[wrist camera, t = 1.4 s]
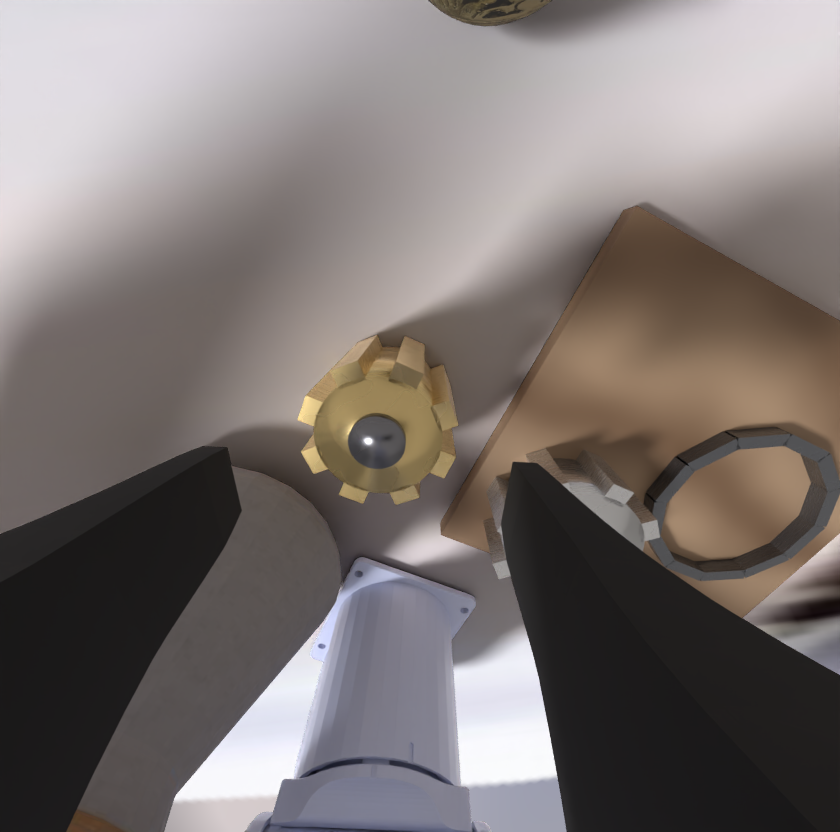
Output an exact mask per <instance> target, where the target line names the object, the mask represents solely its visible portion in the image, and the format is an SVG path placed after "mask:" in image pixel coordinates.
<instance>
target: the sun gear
mask: <svg viewBox="0 0 840 832" xmlns="http://www.w3.org/2000/svg"><path fill="white" fill-rule="evenodd" d="M525 455H526V458H527V461H528V462H530V463H538V464H539V465H540V466H542V467H543V468H544V469H545V470H546V471H548V472H549V473H550V474H551V475H552V476H553V477H554V478H555V479H557V480H558V481H559V482H560V483H561V484H562V485H563V486H564V487H566V488H567V489H568V490H569V491H570V492H571V493H572V494H573V495H575V496H576V497H577V498H578V499H579V500H580V501H581V502H582V503H584V504H585V505H586V506H587V507H588V508H589V509H591V510H592V511H593V512H594V513H595V514H596V515H598V516H599V517H600V518H601V519H602V520H604V521H605V522H606V523H607V524H609V525H610V526H611V527H612V528H613V529H615V530H616V531H617V532H618V533H620V534H621V535H622V536H623V537H625V538H626V539H627V540H629V541H630V542H631V543H633V544H634V545H635V546H636V547H638V548H639V549H640V550H642V551H643V549H644V542H645V541H648V540H652V539H656V538H659V537H660V534H659V528H658V522H657V519H656V518H655V517H654V516H653V515H652V514H651V512H650V511H649V510H648V509H647V508H646V507H645V506H644V505H643V504H642V503H641V502H640V501H639V499H638V498H637V497H636V496H635V495H634V492H633V491H632V490H631V489H630V488H629V486H628V485H627V484H626V483H625V482H624V481H623V480H622V479H621V478H620V477H619V476H618V475H617V474H616V473H615V471H614V470H613V469H612V468H611V467H610V466H609V465H608V464H607V463H606V462H605V461H604V460H603V459H602V458H601V457H600V456H598V455H595V454H593V453H591V452H589V451H586V450H584V449H583V451H582V452H581V454H580V455H579V457H578V458H577V459H576V460H574V459H567V458H552V457H551V455H550V454H549V452H548V451H547V449H546V448H544V449H541V450H538V451H534V452H531V453H528V454H525ZM508 484H509V479H508V481H506V480H504V479H501V478H499V477H495V478H494V480H493V482H492V483H491V485H490V486H489V488H488V490H487V491H486V492H487V496H488V500H489V503H490V507H491V511H492V514H493V518H490V519H486V520H483V523H484V528H485V532H486V537H487V541H488V546H489V550H490V555H491V559H492V564H493V566H494V569H495V571H496V574H497V576H498V579H502V578H506V577H510V576H511V575H510V572H509V568H508V564H507V561H506V555H505V549H504V542H503V536H502V529H501V520H502V514H503V509H504V504H505V499H506V494H507V489H508Z"/></svg>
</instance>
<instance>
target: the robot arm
mask: <svg viewBox="0 0 840 832" xmlns="http://www.w3.org/2000/svg"><path fill="white" fill-rule="evenodd" d="M241 512H242V509H241V505H240V500H239V496H238V492H237V487H236V483H235V479H234V474H233V470H232V466H231V461H230V457H229V453H228V448H227V447H209V446H202V447H200V448H197V449H194V450H191V451H189V452H186V453H184V454H182V455H179V456H177V457H175V458H173V459H170V460H168V461H166V462H164V463H162V464H159V465H157V466H155V467H153V468H151V469H149V470H147V471H144V472H142V473H140V474H138V475H136V476H134V477H131V478H129V479H127V480H125V481H123V482H121V483H119V484H116V485H114V486H112V487H110V488H108V489H106V490H103V491H101V492H99V493H97V494H94V495H92V496H90V497H87V498H85V499H83V500H81V501H78V502H76V503H74V504H71V505H69V506H67V507H65V508H62V509H60V510H58V511H55V512H53V513H51V514H49V515H46V516H44V517H42V518H39V519H37V520H34V521H32V522H30V523H27V524H25V525H22V526H20V527H17V528H15V529H12V530H10V531H7V532H4V533H2V534H0V832H66V831H67V829H68V827H69V825H70V823H71V821H72V818H73V816H74V814H75V812H76V810H77V808H78V806H79V804H80V801H81V799H82V797H83V795H84V793H85V791H86V789H87V787H88V784H89V782H90V780H91V778H92V776H93V774H94V772H95V770H96V768H97V766H98V764H99V762H100V760H101V758H102V756H103V754H104V752H105V750H106V748H107V746H108V744H109V742H110V740H111V738H112V736H113V734H114V732H115V730H116V728H117V726H118V724H119V722H120V720H121V718H122V716H123V714H124V712H125V710H126V708H127V707H128V705H129V703H130V701H131V699H132V697H133V695H134V694H135V692H136V690H137V688H138V686H139V684H140V682H141V680H142V679H143V677H144V675H145V673H146V671H147V669H148V667H149V666H150V664H151V662H152V660H153V658H154V657H155V655H156V653H157V652H158V650H159V648H160V647H161V645H162V643H163V642H164V640H165V638H166V637H167V635H168V634H169V632H170V631H171V629H172V628H173V626H174V625H175V623H176V621H177V620H178V618H179V617H180V615H181V614H182V612H183V611H184V609H185V608H186V606H187V605H188V603H189V602H190V600H191V599H192V597H193V596H194V594H195V592H196V591H197V589H198V588H199V586H200V585H201V583H202V582H203V580H204V579H205V577H206V576H207V574H208V573H209V571H210V569H211V568H212V566H213V565H214V563H215V562H216V560H217V559H218V557H219V555H220V554H221V552H222V551H223V549H224V547H225V545H226V543H227V541H228V539H229V537H230V535H231V533H232V531H233V529H234V527H235V525H236V523H237V520H238V518H239V516H240V514H241ZM501 529H502V536H503V542H504V549H505V555H506V561H507V564H508V568H509V572H510V575H511V579H512V582H513V586H514V589H515V593H516V596H517V600H518V603H519V607H520V610H521V614H522V617H523V621H524V624H525V628H526V631H527V635H528V638H529V642H530V645H531V649H532V652H533V656H534V660H535V664H536V668H537V672H538V676H539V680H540V686H541V691H542V696H543V701H544V706H545V711H546V716H547V722H548V727H549V732H550V737H551V743H552V749H553V754H554V760H555V765H556V771H557V776H558V782H559V788H560V793H561V799H562V805H563V812H564V817H565V823H566V830H567V832H840V675H839V674H837V673H835V672H833V671H831V670H830V669H828V668H826V667H824V666H822V665H821V664H819V663H817V662H815V661H814V660H812V659H810V658H808V657H807V656H805V655H803V654H801V653H800V652H798V651H796V650H794V649H793V648H791V647H789V646H787V645H786V644H784V643H782V642H780V641H779V640H777V639H775V638H774V637H772V636H770V635H769V634H767V633H766V632H764V631H762V630H761V629H759V628H757V627H756V626H754V625H752V624H751V623H749V622H747V621H746V620H744V619H742V618H741V617H739V616H738V615H736V614H734V613H733V612H731V611H729V610H728V609H726V608H725V607H723V606H721V605H720V604H718V603H717V602H715V601H714V600H712V599H710V598H709V597H707V596H706V595H704V594H703V593H701V592H700V591H698V590H697V589H695V588H694V587H692V586H691V585H690V584H688V583H687V582H685V581H684V580H682V579H681V578H679V577H678V576H676V575H675V574H673V573H672V572H671V571H669V570H668V569H666V568H665V567H663V566H662V565H661V564H659V563H658V562H656V561H655V560H654V559H652V558H651V557H650V556H648V555H647V554H645V553H644V552H643V551H642V550H640V549H639V548H638V547H636V546H635V545H634V544H633V543H631V542H630V541H629V540H627V539H626V538H625V537H623V536H622V535H621V534H620V533H618V532H617V531H616V530H615V529H613V528H612V527H611V526H610V525H609V524H607V523H606V522H605V521H604V520H602V519H601V518H600V517H599V516H598V515H596V514H595V513H594V512H593V511H592V510H591V509H589V508H588V507H587V506H586V505H585V504H584V503H582V502H581V501H580V500H579V499H578V498H577V497H576V496H575V495H573V494H572V493H571V492H570V491H569V490H568V489H567V488H566V487H564V486H563V485H562V484H561V483H560V482H559V481H558V480H557V479H555V478H554V477H553V476H552V475H551V474H550V473H549V472H548V471H546V470H545V469H544V468H543V467H542V466H540V465H539V464H538V463H530V462H513V463H512V468H511V473H510V478H509V484H508V489H507V494H506V499H505V504H504V509H503V514H502V520H501ZM358 571H361V572H358ZM475 606H476V601H475V598H474V596H472V595H470V594H467V593H464V592H461V591H458V590H455V589H453V588H450V587H447V586H444V585H441V584H438V583H436V582H433V581H430V580H427V579H424V578H421V577H419V576H416V575H413V574H410V573H407V572H404V571H401V570H399V569H396V568H393V567H390V566H387V565H384V564H382V563H379V562H376V561H373V560H370V559H367V558H364V557H360V558H357V559H356V560H355V561H354V563H353V565H352V567H351V569H350V571H349V573H348V575H347V577H346V579H345V582H344V584H343V586H342V588H341V590H340V592H339V594H338V596H337V600H336V603H335V604H334V606H333V608H332V609H331V610H330V612H329V614H328V616H327V618H326V620H325V622H324V624H323V626H322V628H321V630H320V632H319V634H318V636H317V638H316V640H315V642H314V644H313V646H312V648H311V652H310V656H311V657H312V658H313V659H316V660H319V661H322V662H323V664H322V668H321V671H320V675H319V679H318V683H317V686H316V690H315V694H314V698H313V701H312V705H311V709H310V713H309V716H308V720H307V724H306V728H305V731H304V735H303V739H302V743H301V746H300V750H299V754H298V758H297V762H296V767H295V774H294V779H284V780H283V781H282V783H281V787H280V790H279V794H278V797H277V801H276V804H275V808H274V811H273V812H263V813H261V814H259V815H257V816H256V817H255V819H254V820H253V821H252V822H251V823H250V825H249V826H248V828H247V830H246V831H245V832H491V829H490V827H489V826H488V825H487V824H486V822H483V821H473V822H471V810H470V797H469V789H468V788H467V787H461V779H460V764H459V749H458V734H457V719H456V703H455V688H454V673H453V658H452V642H451V640H452V639H453V637H454V636H455V635H456V633H457V632H458V630H459V629H460V628H461V626H462V625H463V623H464V622H465V621H466V619H467V618H468V616H469V615H470V614H471V612H472V611H473V609H474V608H475ZM464 607H465V608H464Z"/></svg>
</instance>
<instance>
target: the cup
mask: <svg viewBox="0 0 840 832" xmlns="http://www.w3.org/2000/svg"><path fill="white" fill-rule="evenodd" d="M429 1H430V2H431V3H432V4H433V5H434V6H435V7H437V8H438V9H439V10H440V11H442V12H443V13H445V14H447V15H448V16H450V17H452V18H454V19H456V20H459V21H461V22H464V23H468V24H471V25H478V26H497V25H502V24H507V23H510V22H513V21H516V20H519V19H522V18H524V17H526V16H528V15H530V14H532V13H534V12H536V11H538V10H539V9H541V8H542V7H544V6H545V5H547V4H548V3H549V2H550V1H552V0H429Z"/></svg>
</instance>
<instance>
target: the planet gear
mask: <svg viewBox="0 0 840 832" xmlns="http://www.w3.org/2000/svg"><path fill="white" fill-rule="evenodd" d="M424 355H425V345H424V344H422V343H420V342H418V341H416V340H413V339H411V338H409V337H407V336H405V337H404V339H403V341H402V344H401V346H400V348H399V347H382V344H381V342H380V340H379V337H378V335H375V336H373V337H370V338H368V339H365V340H363V341H360V342H357V344H356V345H355V346H354V347H353V348H352V349H351V350H350V351H349V352H348V353H347V354H346V355H345V356H344V357H343V358H342V359H341V360H340V361H339V362H338V363H337V364H336V365H335V366H334V367H333V368H332V369H331V370H330V371H329V372H328V373H327V374H326V375H325V376H324V377H323V378H322V379H321V380H320V381H319V382H318V383H317V384H316V385H315V386H314V387H313V389H312V390H311V391H310V392H309V393H308V394H307V395H306V396H305V399H304V402H303V405H302V408H301V411H300V414H299V417H298V420H299V421H301V422H304V423H306V424H309V425H311V426H314V434H313V435H312V437H311V438H310V439H309V441H308V442H307V444H306V445H305V447H304V448H303V450H302V451H301V453H302V455H303V456H304V458H305V460H306V462H307V463H308V465H309V467H310V469H311V470H312V472H313V474H315V473H318V472H321V471H324V470H327V469H328V470H329V471H330V472H331V473H332V474H333V475H334V476H335V477H337V478H338V479H339V480H341V481H342V482H344V483H343V485H342V488H341V490H340V493H339V495H340V496H343V497H346V498H348V499H351V500H354V501H356V502H359V503H362V504H363V503H364V501H365V499H366V497H367V495H368V492H372V493H390V495H391V497H392V499H393V501H394V503H395V505H398V504H401V503H404V502H407V501H411V500H414V499H417V498H420V481H421V480H422V479H423V478H425V477H426V476H427V475H428V474H429V473H431V474H434V475H436V476H439V477H441V478H445V476H446V474H447V473H448V471H449V469H450V467H451V465H452V464H453V462H454V460H455V458H456V453H455V447H454V440H453V434H452V428H453V427H456V426H459V425H458V420H457V415H456V410H455V406H454V401H453V396H452V391H451V386H450V382H449V379H448V376H447V374H446V371H445V368H444V365H443V364H442V365H439V366H437V367H434V368H430V367H429V365H428V364H427V363H426V362H425V361H424Z"/></svg>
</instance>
